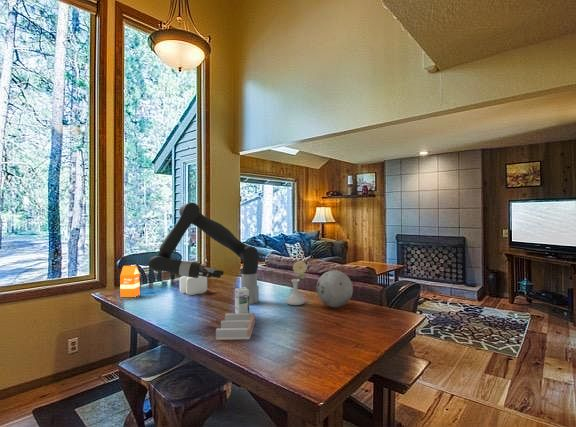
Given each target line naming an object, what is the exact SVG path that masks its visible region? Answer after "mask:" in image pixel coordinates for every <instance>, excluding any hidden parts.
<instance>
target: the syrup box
mask: <svg viewBox="0 0 576 427" xmlns="http://www.w3.org/2000/svg"><path fill="white" fill-rule="evenodd" d="M234 306H235V307H234V308H235V309H234V311H235V313H250V304H249V289H248V288H246V287H244V288H241V287H239V288H234Z"/></svg>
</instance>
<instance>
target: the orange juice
mask: <svg viewBox="0 0 576 427" xmlns="http://www.w3.org/2000/svg"><path fill="white" fill-rule="evenodd" d="M119 278H120V279H119V282H120V283H119V284H120V288H119V290H120V292H119V293H120V297H135V298H137V297H139V296H140V294H141V293H140V286H141V285H140V281H141V280H140V271H139V268H138V266H137V265H123V266H122V269H121V272H120V275H119ZM138 295H139V296H138ZM136 296H137V297H136Z"/></svg>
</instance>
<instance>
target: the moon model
mask: <svg viewBox="0 0 576 427" xmlns="http://www.w3.org/2000/svg"><path fill="white" fill-rule="evenodd" d="M353 292H354V287H353V283H352V280H351V279H350V277H349V276H348V275H347V274H346V273H344V272H343V271H340V270H336V269H335V270H328V271H326V272H324V273H323V274H321V276H319V278H318V279H317V282H316V294H317V297H318V299H319V300H320V301H321V302H322V303H323V304H324V305H325V306H327V307H330V308H340V307H343V306H344V305H346V304H347V303H348V302H349V301H350V300H351V298H352V296H353Z"/></svg>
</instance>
